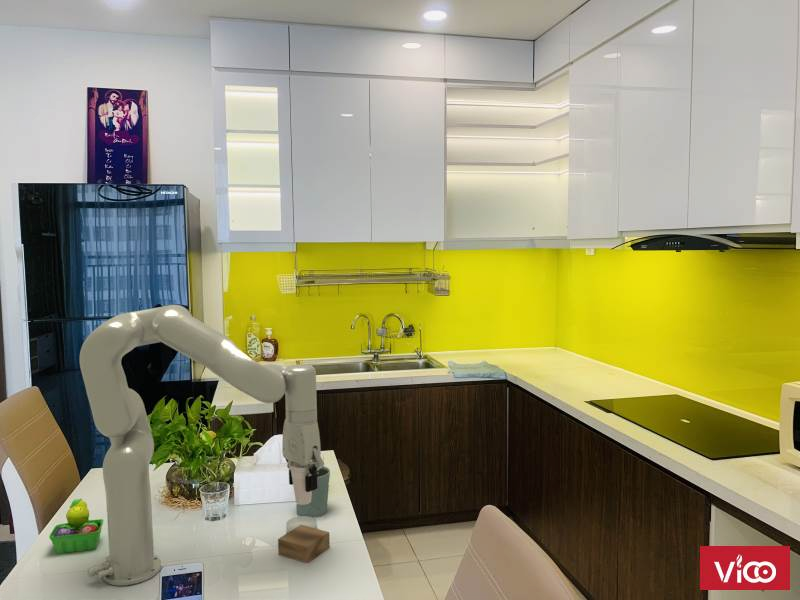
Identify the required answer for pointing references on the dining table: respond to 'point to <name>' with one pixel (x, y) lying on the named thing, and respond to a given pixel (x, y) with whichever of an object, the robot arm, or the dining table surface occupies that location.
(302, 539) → the walnut base
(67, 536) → the fruit basket
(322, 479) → the grey-green hollow tall cylinder
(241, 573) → the dining table surface
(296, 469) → the smoothie
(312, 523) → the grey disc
